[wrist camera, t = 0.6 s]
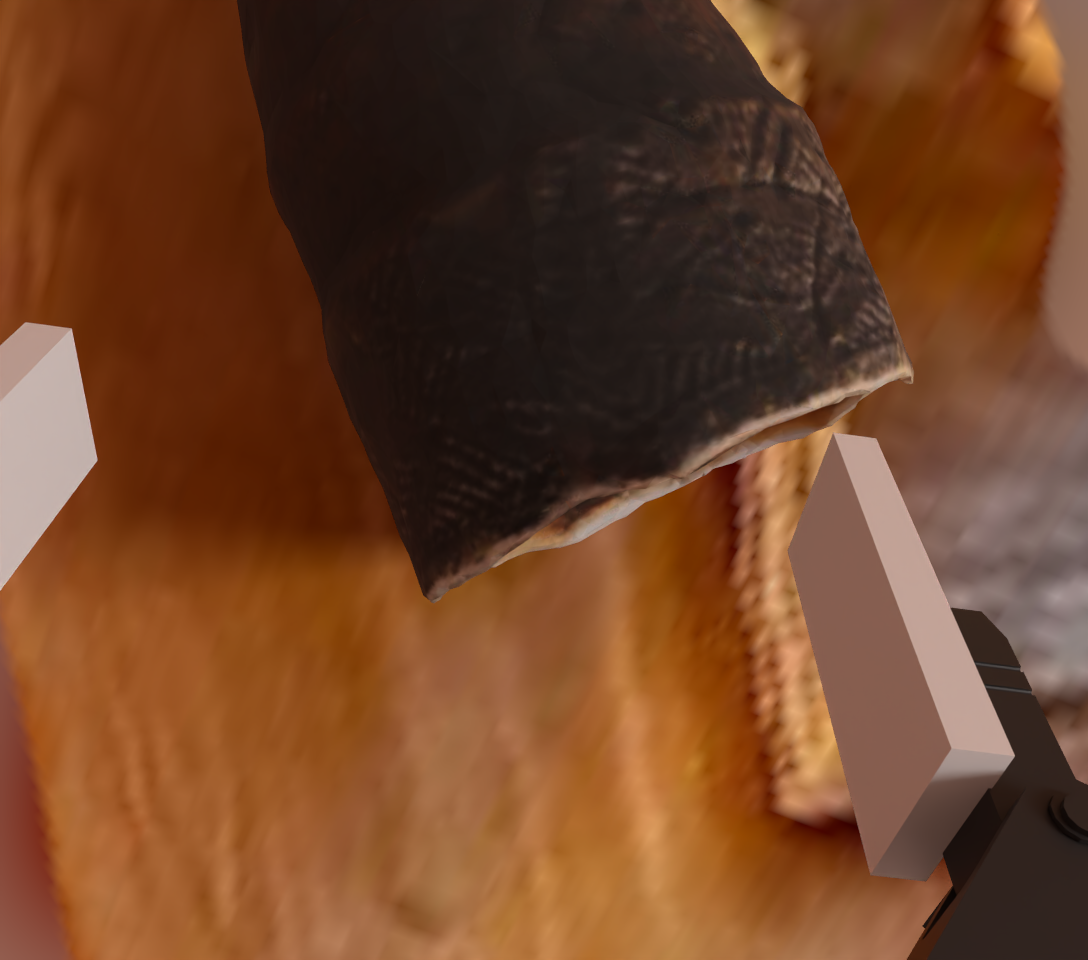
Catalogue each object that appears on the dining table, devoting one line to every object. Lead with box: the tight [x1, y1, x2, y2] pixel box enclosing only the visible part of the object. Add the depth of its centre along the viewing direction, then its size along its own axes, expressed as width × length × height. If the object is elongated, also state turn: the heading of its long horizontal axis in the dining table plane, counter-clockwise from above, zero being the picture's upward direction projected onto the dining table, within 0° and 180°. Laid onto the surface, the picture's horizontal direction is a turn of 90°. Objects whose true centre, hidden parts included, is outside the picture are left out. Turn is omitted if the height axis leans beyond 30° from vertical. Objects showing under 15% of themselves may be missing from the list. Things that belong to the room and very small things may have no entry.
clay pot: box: [237, 0, 914, 603], centre depth 27 cm, size 15×15×25 cm
